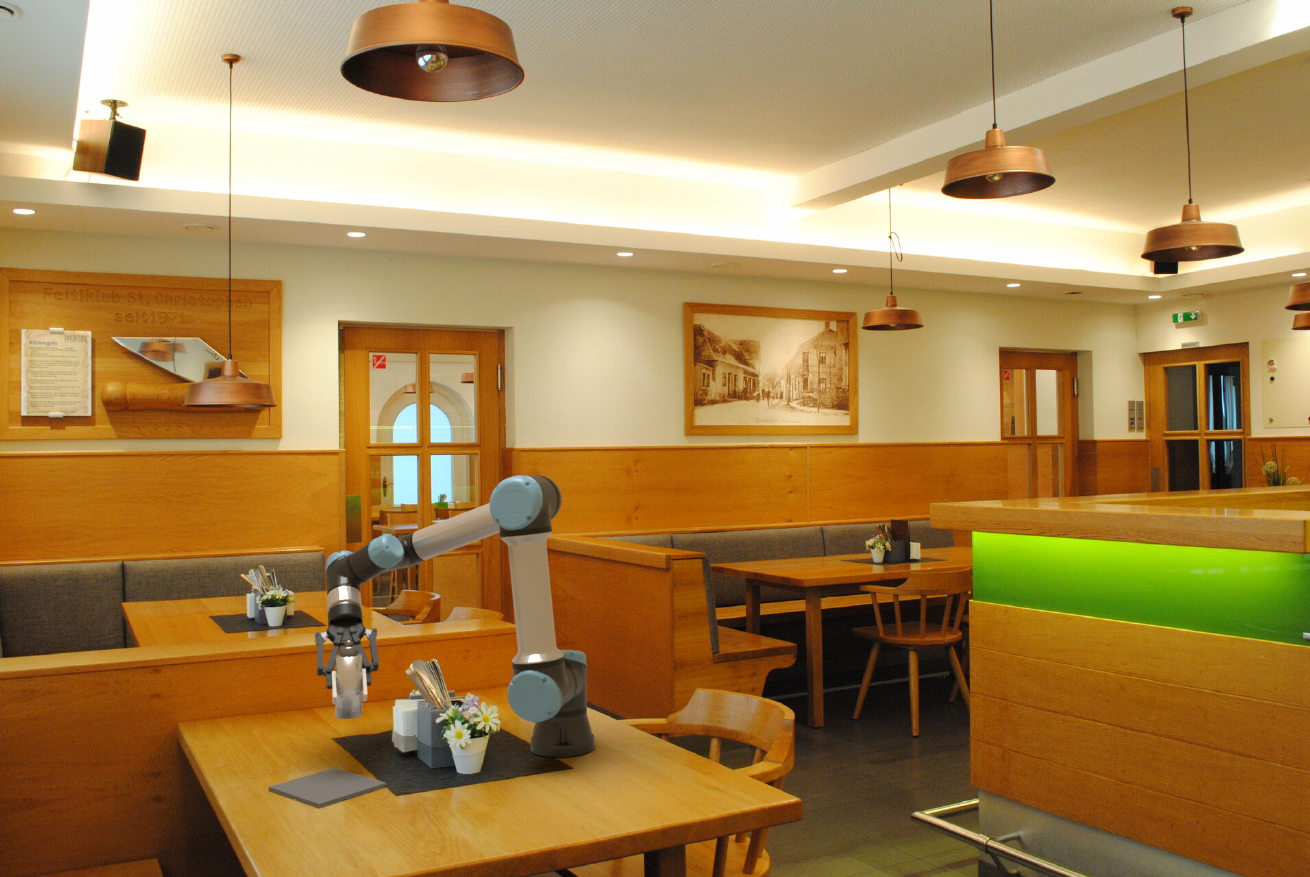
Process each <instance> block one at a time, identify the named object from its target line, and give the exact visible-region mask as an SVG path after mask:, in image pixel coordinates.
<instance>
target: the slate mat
mask: <svg viewBox="0 0 1310 877" xmlns="http://www.w3.org/2000/svg"><path fill="white" fill-rule="evenodd" d="M384 786H386V787H387V782H384V781H381V780H377V779H374V778H372V777H367V776H364V775H361V774H357V773H354V772H351V771H348V770H345V769H341V768H338V767H333V768H330V769H326V770H322V771H318V772H316V773H311V774H309V775H305V776H302V777H299V778H294V779H291V780H288V781H285V782H284V781H283V782H279V783H276V784H273V785H270V786H268V791H269V792H271V793H274V794H277V793H278V794H277V795H280V796H283V795H284V796H283V797H285V798H288V797H289V798H290V799H292V800H294V799H296V800H295V801H297V800H298V802H300V801H301V802H300V803H302V804H303V803H304V804H306V803H307V804H306V805H309V806H312V807H315V808H318V809H320V808H324V807H327V806H330V805H333V803H334V804H336V803H339V801H340V802H342V801H345V800H344V799H346V800H349V799H353V798H355V797H358V795H359V796H361V795H364V794H368V793H371V792H374V791H373V790H375V791H377V789H378V790H380V789H379V788H381V789H384V788H385V787H384ZM383 787H384V788H383ZM352 797H353V798H352ZM289 798H288V799H289Z"/></svg>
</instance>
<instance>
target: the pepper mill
mask: <svg viewBox="0 0 1310 877" xmlns="http://www.w3.org/2000/svg"><path fill="white" fill-rule="evenodd" d="M334 669H335V670H334V671H336V691H337V701H336V704H334V705H335V718H336V719H341V720H350V719H356V718H359V717H362V716H363V692H362V669H363V668H362V654H361V653H357V645H353V641H352V640H346V641H345V645H343V646H340V650H339V653H338V655H336V656H335V666H334Z"/></svg>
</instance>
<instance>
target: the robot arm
mask: <svg viewBox="0 0 1310 877" xmlns="http://www.w3.org/2000/svg"><path fill="white" fill-rule="evenodd" d="M495 486H496V487H494V489H493V490H492V493H491V495H490V498H489V502H488V503H485V504H484V505H481V506H479V507H476V508H473V509H471V510H468V511H465V512H462V513H459V514H457V515H455V516H452V517H449V518H446V519H444V520H441V521H439V522H436V523H435V524H432V525H429V526H427V527H423V528H422V529H418V530H416V531H413V532H410V533H408V534H405V535H401V536H399V537H396V536H395V535H392V534H390V533H385V534H381V535H380V536H378V537H376V538H373V539H372V540H371V541H370V542H368V543H367V544H365V545H364V546H362V547H361V548H359V549H357V550H356V551H354V552H352V551H349V550H341V551H339V552H337V551H335V552H333V553H331V554H330V555H329V556H328V557H327V559H326V561H325V572H324V575H325V582H326V584H325V585H326V603H327V604H326V605H327V626H328V627H327V628H326V631H325V632H320V631H317V632H315V633H314V643H315V645H316V647H317V655H316V658H317V659H316V661H317V662H316V675H317V676H318V677H319V676H324V677H325V687H326V689H327V690H331V698H332V700H331V702H332V705H335V704H336V701H337V691H336V671H335V670H334V669H335V656H336V655H339V654H340V646H343V645H345V641H346V640H352V641H353V645H357V653H361V654H362V703H364V702H367V701H368V687H371V686H372V682H373V681H372V680H373V679H372V673H373V672H377V671H379V667H380V661H379V652H378V646H377V636H378V629H377V627H375V628H372V629H367V628H366V626H365V625H364V621H363V619H364V618H363V610H362V608H363V607H362V606H363V605H362V596H361V595H362V594H361V586H362V585H364V584H365V583H367V582H369V581H370V580H373V579H374V578H376V577H378V576H379V575H381V574H384V573H387V572H391V571H395V570H399V569H405V568H412V567H415V566H417V565H419V564H420V563H423V562H424V561H427V560H429V559H432V558H435V557H437V556H440V555H444V554H445V553H448V552H451V551H453V550H456V549H459V548H462V547H464V546H467V545H469V544H472V543H475V542H477V541H481V540H483V539H487V538H488V537H491V536H494V535H497V534H499V538H500V540H502V542H504V543H505V544H506V545H507V548H508V559H509V560H508V561H509V569H510V570H509V571H510V583H511V590H512V593H511V594H512V603H513V612H514V613H513V614H514V626H515V633H516V635H515V636H516V645H517V653H516V655H515V656H514V657H513V658H512V660H511V664H512V676H513V677H512V679H511V681H510V682H509V684H508V686H507V692H506V694H507V701H508V704H509V707H510V708H511V710H512V712H513V713H514V714H515V715H517V717H519V718H520V719H522V720H524V721H526V722H530V723H535V725H534V727H533V730H532V736H531V737H530V742H529V743H530V747H529V748H530V749H529V750H530V752H532V754H535V755H537V756H540V757H547V758H567V757H569V758H570V757H577V756H581V755H585V754H588V753H591V752H592V751H593V750H595V747H596V744H595V743H596V740H595V735H594V733H593V731H592V728H591V723H590V721H589V720H590V719H589V716H588V697H587V696H588V693H587V692H588V682H587V680H588V678H587V677H588V675H587V672H588V671H587V668H588V664H587V656H586V653H585V652H583V651H581V650H576V649H575V650H573V649H559V648H558V647H557V640H556V630H555V618H554V610H553V609H554V608H553V598H552V589H551V588H552V587H551V576H550V566H549V558H548V546H547V540H548V538H550V536H551V535H553V529H552V520H553V519H554V518H555V517H556V516H557V515H558V513H559V512H560V511H561V507H562V502H563V500H562V499H563V498H562V492H561V490H560V487H559V486H558V484H557V483H556V482H555V481H554V480H553V479H552V478H550V477H548V476H545V475H541V474H532V475H531V474H530V475H529V474H527V475H526V474H522V475H514V476H511V477H507V478H505V479H503V480H502V481H500V482H499V483H498V484H497V485H495ZM365 636H366V640H368V641H369V651H370V659H371V662H370V660H369V659H368V655H367V654H366V652H365V650H364V647H363V645H362V641H361V640H362V639H363V638H364V637H365ZM327 639H328V640H329V642H332V643H333V645H332V648H331V649H332V650H331V652H330V656H329V659H328V661H327V665H326V666H324V644H325V643H326V640H327Z"/></svg>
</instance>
